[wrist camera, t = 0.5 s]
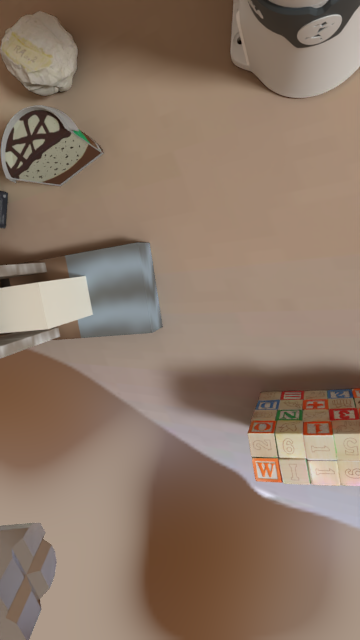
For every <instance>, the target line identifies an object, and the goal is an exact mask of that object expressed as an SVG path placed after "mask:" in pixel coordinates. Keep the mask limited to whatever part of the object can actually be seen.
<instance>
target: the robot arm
mask: <svg viewBox="0 0 360 640" xmlns="http://www.w3.org/2000/svg"><path fill="white" fill-rule="evenodd" d="M240 40H241V42H242V44H238V42H239V41H240ZM230 54H231V60H232V62H233V63H234V64H235V65H236V66H238V67H240V68H242V69H245V70H248V71H251V72H253V73H254V74H255V75H256V76H257V77H258V78H259V79H260V80H261V81H262V83H263V84H264V85H265V86H267V87H268V88H269V89H271V90H272V91H274V92H276V93H278V94H280V95H283V96H286V97H292V98H306V97H312V96H316V95H319V94H322V93H325V92H327V91H329V90H331V89H333V88H335V87H336V86H338V85H340V84H341V83H342V82H344V81H345V80H346V79H347V78H349V77H350V76H351V75H352V74H353V73H354V72H355V71H356V70H357V69H358V68H359V67H360V0H233V16H232V32H231V48H230ZM44 535H45V531H44V529H43V527H42V526H41V524H40V523H27V524H15V525H3V526H0V640H29V639H30V636H31V634H32V631H33V629H34V626H35V624H36V621H37V619H38V616H39V614H40V611H41V604H40V598H41V597H42V596H43V595H44V594H45V593H46V592H47V591H48V590H49V588H50V586H51V584H52V581H53V578H54V575H55V568H56V556H55V551H54V549H53V547H52V545H51V544H50V543H48V542H47V541H45V540H44V539H43V538H44Z"/></svg>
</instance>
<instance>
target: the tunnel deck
mask: <svg viewBox="0 0 360 640" xmlns="http://www.w3.org/2000/svg"><path fill="white" fill-rule="evenodd" d="M82 276H86V281H87V286H88V291H89V297H90V302H91V307H92V313H93V315H91V316H88V317H84V318H81V319H78V320H75V321H72V322H69V323H66V324H63V325H60V326H56V327H53V328H50V329H44V330H33V331H22V332H10V333H0V358H3V357H5V356H8V355H11V354H14V353H16V352H19V351H22V350H25V349H27V348H30V347H33V346H36V345H38V344H41V343H44V342H46V341H49V340H60V339H74V338H87V337H101V336H115V335H128V334H142V333H153V332H154V331H156V330H158V329H160V328H161V327H162V320H161V314H160V307H159V301H158V294H157V288H156V282H155V275H154V269H153V262H152V256H151V249H150V243H132V244H126V245H121V246H115V247H110V248H104V249H99V250H93V251H88V252H82V253H77V254H71V255H65V256H60V257H54V258H49V259H43V260H38V261H32V262H27V263H21V264H13V265H0V288H4V287H11V286H17V285H24V284H31V283H37V282H45V281H52V280H59V279H67V278H74V277H82Z"/></svg>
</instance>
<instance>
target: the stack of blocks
mask: <svg viewBox="0 0 360 640" xmlns="http://www.w3.org/2000/svg"><path fill="white" fill-rule="evenodd" d="M248 439H249V445H250V451H251V456H252V463H253V468H254V474H255V479H256V481H260V482H283V483H284V484H307V485H309V484H313V485H332V486H339V485H343V486H360V388H357V389H345V390H327V391H326V390H322V391H284V392H280V391H279V392H261V393H260V396H259V399H258V403H257V406H256V408H255V411H254V413H253V415H252V418H251V425H250V428H249V431H248Z"/></svg>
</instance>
